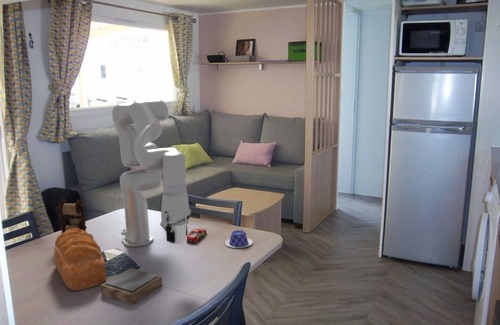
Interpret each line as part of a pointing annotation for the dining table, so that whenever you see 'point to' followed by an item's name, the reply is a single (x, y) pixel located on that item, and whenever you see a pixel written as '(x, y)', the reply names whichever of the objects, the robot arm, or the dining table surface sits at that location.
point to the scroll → (72, 216)
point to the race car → (196, 235)
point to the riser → (131, 286)
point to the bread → (79, 260)
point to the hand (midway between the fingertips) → (177, 237)
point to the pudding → (238, 240)
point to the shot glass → (179, 231)
